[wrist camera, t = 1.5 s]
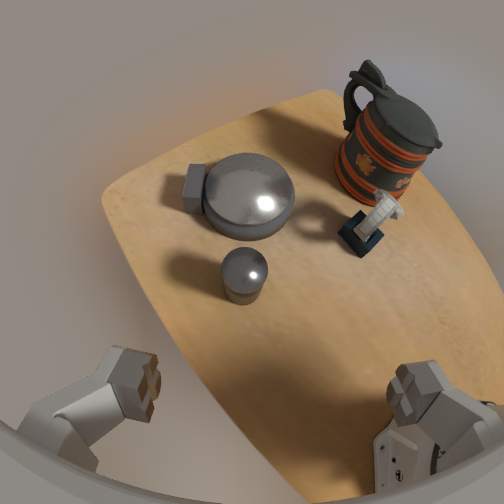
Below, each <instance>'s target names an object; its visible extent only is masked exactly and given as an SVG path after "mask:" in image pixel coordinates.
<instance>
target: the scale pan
mask: <svg viewBox="0 0 504 504" xmlns="http://www.w3.org/2000/svg"><path fill="white" fill-rule="evenodd" d="M205 191H206V197H207V200H208V203H209V205H210V207H211V208H212V209H213V211H214V212H215V213H216V214H217V215H218V216H219V217H221V218H222V219H224V220H226V221H228V222H230V223H233V224H236V225H240V226H259V225H263V224H266V223H269V222H271V221H273V220H275V219H276V218H278V217H279V216H280V215H281V214H282V213H283V212H284V211H285V209H286V208H287V206H288V204H289V201H290V198H291V194H292V185H291V181H290V178H289V176H288V174H287V172H286V171H285V170H284V168H283V167H282V166H281V165H280V164H278V163H277V162H276V161H274V160H273V159H271V158H269V157H267V156H264V155H260V154H256V153H239V154H234V155H231V156H228V157H226V158H224V159H222V160H221V161H219V162H218V163H217V164H216V165H215V166H214V167H213V168H212V169H211V171H210V172H209V174H208V176H207V179H206V183H205Z"/></svg>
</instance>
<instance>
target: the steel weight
mask: <svg viewBox="0 0 504 504" xmlns="http://www.w3.org/2000/svg"><path fill="white" fill-rule="evenodd" d="M221 273H222V278H223V283H224V289H225V294H226V296H227V297H228V299H229V300H230V301H231V302H233V303H234V304H237V305H248V304H251V303H253V302H254V301H255V300H256V299H257V298H258V296H259V294H260V291H261V289H262V287H263V284H264V282H265V280H266V278H267V275H268V266H267V262H266V260H265V258H264V257H263V255H262V254H261V253H260V252H258V251H257V250H255V249H252V248H249V247H240V248H236V249H234V250H232V251H231V252H229V253H228V254H227V255H226V257H225V258H224V260H223V262H222V266H221Z"/></svg>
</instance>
